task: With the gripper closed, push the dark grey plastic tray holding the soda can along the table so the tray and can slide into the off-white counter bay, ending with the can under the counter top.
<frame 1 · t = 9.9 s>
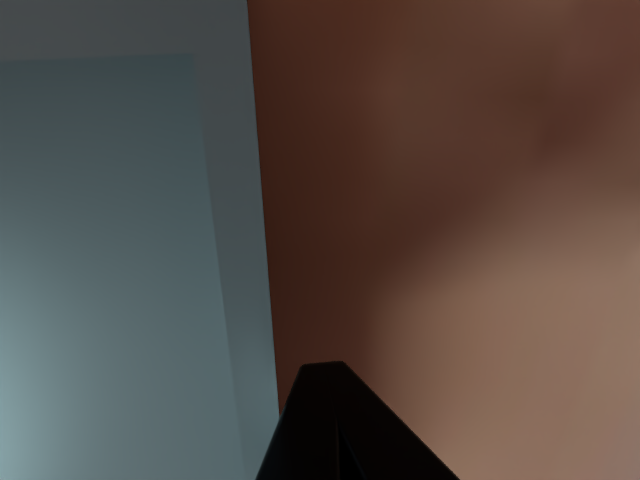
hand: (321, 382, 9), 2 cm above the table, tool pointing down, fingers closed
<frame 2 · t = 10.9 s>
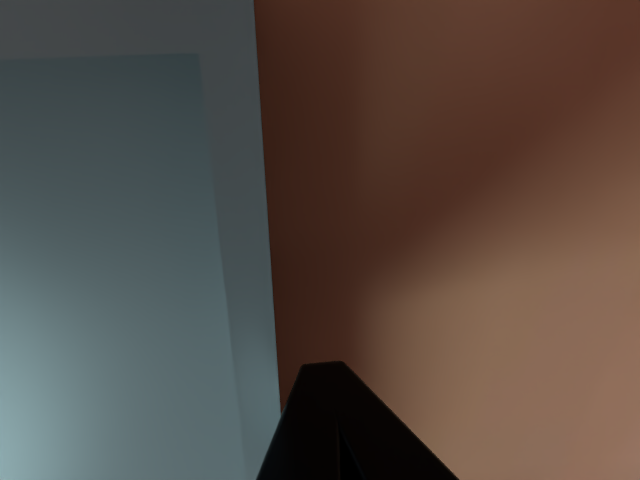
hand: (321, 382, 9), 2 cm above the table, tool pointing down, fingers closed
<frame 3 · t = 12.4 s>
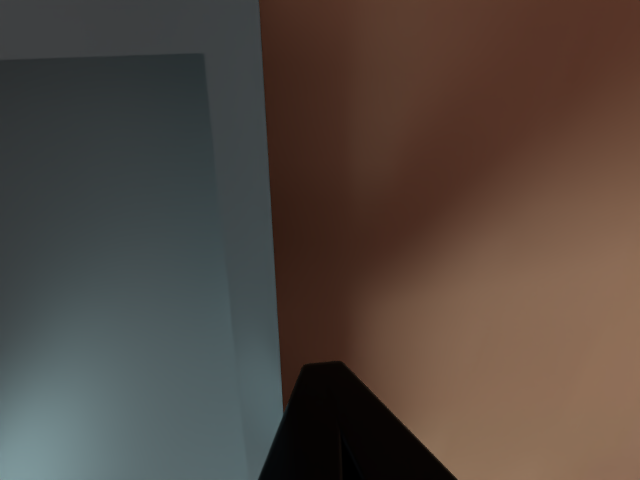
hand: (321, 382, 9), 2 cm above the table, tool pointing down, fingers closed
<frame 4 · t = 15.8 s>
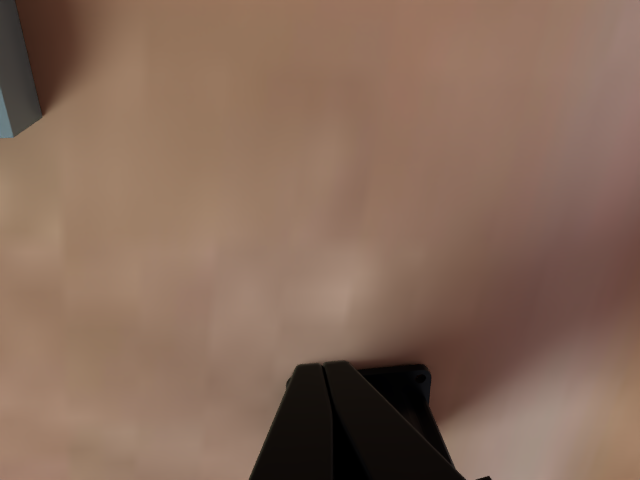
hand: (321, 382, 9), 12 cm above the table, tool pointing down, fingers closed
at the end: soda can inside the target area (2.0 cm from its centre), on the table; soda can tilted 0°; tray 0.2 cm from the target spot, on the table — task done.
